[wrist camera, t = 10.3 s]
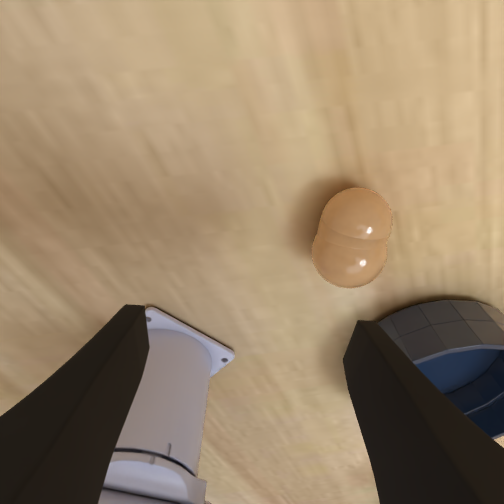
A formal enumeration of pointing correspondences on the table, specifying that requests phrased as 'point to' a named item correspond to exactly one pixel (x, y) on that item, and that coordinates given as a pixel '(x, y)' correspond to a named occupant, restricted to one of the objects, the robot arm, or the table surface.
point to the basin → (457, 354)
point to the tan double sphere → (352, 238)
